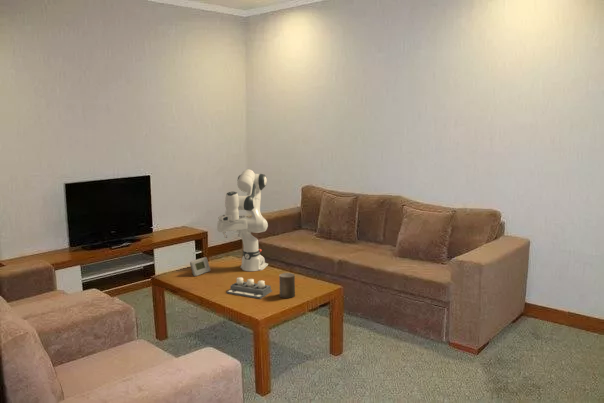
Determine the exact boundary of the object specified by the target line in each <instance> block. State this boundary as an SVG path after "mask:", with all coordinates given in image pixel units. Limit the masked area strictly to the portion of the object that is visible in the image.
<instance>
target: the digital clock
mask: <svg viewBox="0 0 604 403" xmlns="http://www.w3.org/2000/svg"><path fill="white" fill-rule="evenodd" d="M189 265H190V268H191V274H192V275H193V277H197V276H201V274H202V275H204V274H206V273H208V272H210V271H211V268H210V263H209V260H208V258H207V257H206V256H204V257H201V258H196V259H194V260H192V261H190V262H189Z"/></svg>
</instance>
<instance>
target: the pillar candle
mask: <svg viewBox="0 0 604 403" xmlns="http://www.w3.org/2000/svg"><path fill="white" fill-rule="evenodd" d="M278 276H279V297H280V298H282V299H283V298H284V299H291V298H294V297H295V296H296V287H295V286H296V283H295V282H296V281H295V280H296V278H295V273H292V272H282V273H280V274H278Z"/></svg>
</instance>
